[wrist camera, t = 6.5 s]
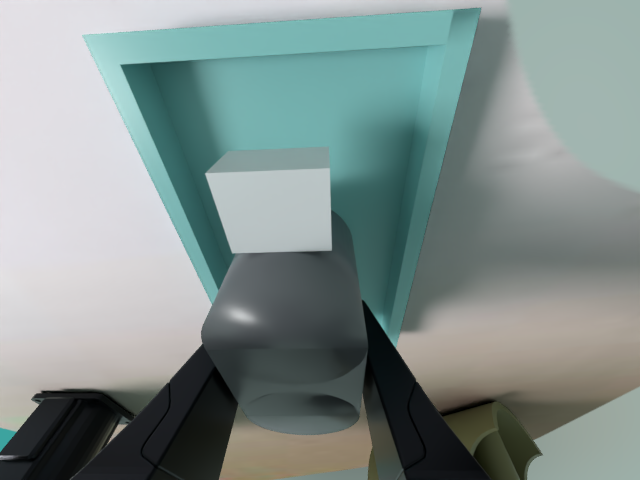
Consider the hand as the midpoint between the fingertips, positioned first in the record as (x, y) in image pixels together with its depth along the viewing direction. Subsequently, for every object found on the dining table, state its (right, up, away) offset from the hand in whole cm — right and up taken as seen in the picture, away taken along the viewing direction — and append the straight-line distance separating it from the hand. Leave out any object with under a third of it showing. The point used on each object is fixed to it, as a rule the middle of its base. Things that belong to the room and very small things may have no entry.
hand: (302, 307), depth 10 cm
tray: (0, +3, +2) cm, 3 cm away
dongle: (0, +1, +1) cm, 1 cm away
